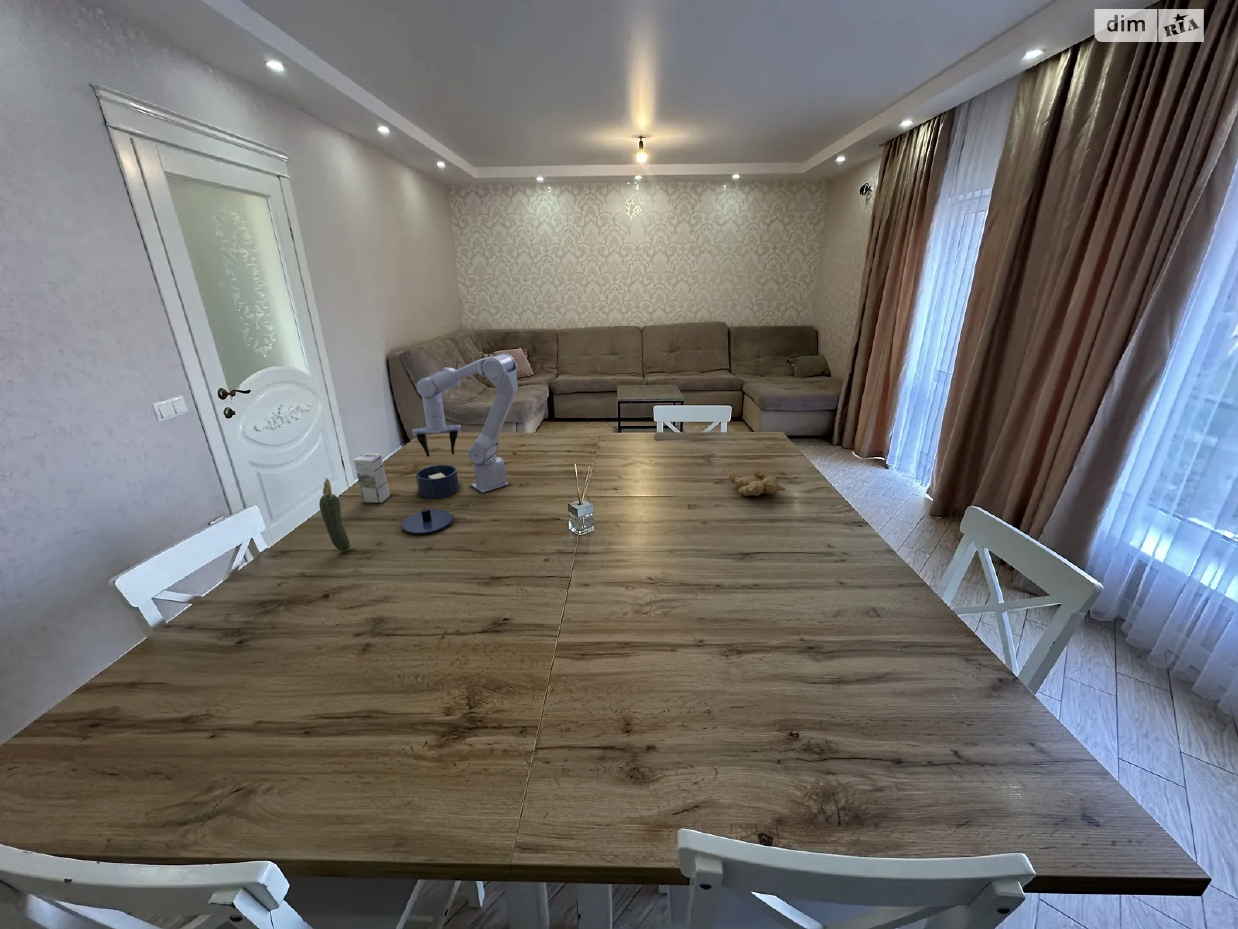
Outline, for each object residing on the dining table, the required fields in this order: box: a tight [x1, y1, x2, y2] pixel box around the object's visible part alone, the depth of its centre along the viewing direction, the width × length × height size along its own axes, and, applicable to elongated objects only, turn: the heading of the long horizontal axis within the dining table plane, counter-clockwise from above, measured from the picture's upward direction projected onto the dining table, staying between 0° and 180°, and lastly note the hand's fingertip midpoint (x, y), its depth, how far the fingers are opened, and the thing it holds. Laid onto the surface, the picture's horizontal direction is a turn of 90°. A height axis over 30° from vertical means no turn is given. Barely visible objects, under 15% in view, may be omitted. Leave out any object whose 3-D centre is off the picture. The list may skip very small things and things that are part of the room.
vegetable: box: [319, 477, 351, 553], centre depth 118 cm, size 4×4×20 cm
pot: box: [415, 464, 460, 499], centre depth 155 cm, size 12×12×6 cm
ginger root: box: [726, 466, 787, 497], centre depth 152 cm, size 16×16×8 cm
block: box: [428, 473, 445, 479], centre depth 155 cm, size 4×4×4 cm
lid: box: [401, 507, 453, 535], centre depth 135 cm, size 13×13×5 cm
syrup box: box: [353, 453, 391, 504], centre depth 148 cm, size 6×6×14 cm
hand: (440, 454), depth 159 cm, fingers open, 7 cm apart
